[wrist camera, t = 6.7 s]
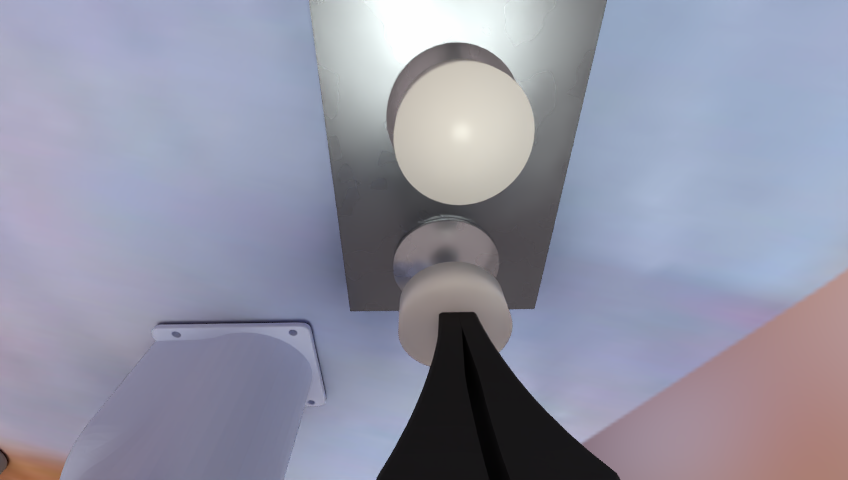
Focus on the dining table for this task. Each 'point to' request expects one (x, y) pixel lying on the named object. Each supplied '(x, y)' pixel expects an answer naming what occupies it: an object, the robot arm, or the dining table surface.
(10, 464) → the dining table surface
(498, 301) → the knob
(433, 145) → the knob middle
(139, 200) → the dining table surface
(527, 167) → the mount
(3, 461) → the travel mug
